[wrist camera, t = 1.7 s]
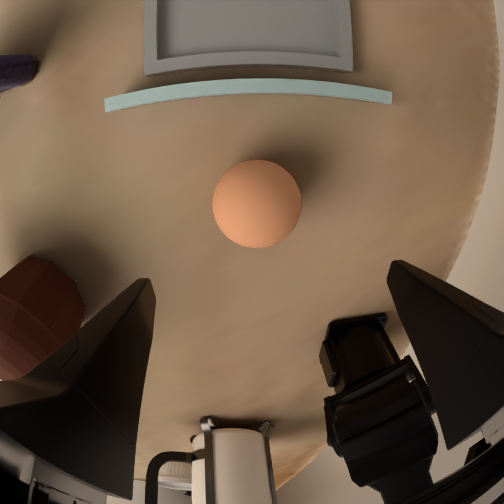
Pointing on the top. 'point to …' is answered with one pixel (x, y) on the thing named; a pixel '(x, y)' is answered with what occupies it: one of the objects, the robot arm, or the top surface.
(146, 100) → the acrylic walls
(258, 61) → the dish
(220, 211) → the ball
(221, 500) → the coffee press
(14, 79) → the flask
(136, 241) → the top surface
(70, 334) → the muffin
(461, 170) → the top surface
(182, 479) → the ramekin
